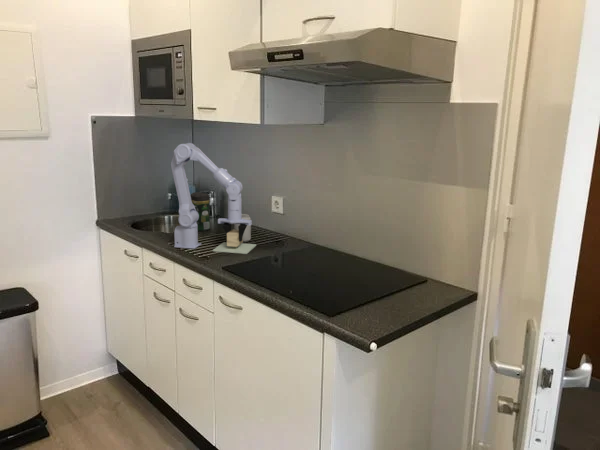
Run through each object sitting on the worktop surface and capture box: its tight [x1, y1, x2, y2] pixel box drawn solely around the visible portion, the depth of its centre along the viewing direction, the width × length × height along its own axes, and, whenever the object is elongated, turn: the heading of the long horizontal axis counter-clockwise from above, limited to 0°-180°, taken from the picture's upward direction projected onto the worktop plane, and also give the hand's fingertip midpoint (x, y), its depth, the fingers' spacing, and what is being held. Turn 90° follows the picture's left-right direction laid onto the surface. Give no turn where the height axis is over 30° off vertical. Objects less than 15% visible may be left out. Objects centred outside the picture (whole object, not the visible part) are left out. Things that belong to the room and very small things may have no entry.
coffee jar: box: [190, 191, 211, 232], centre depth 241 cm, size 10×8×19 cm
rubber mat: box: [212, 241, 257, 255], centre depth 209 cm, size 15×14×1 cm
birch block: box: [226, 228, 244, 247], centre depth 208 cm, size 8×4×6 cm, turn 169°
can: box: [233, 213, 252, 243], centre depth 221 cm, size 8×8×12 cm
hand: (234, 240), depth 208 cm, fingers closed on birch block, 4 cm apart
